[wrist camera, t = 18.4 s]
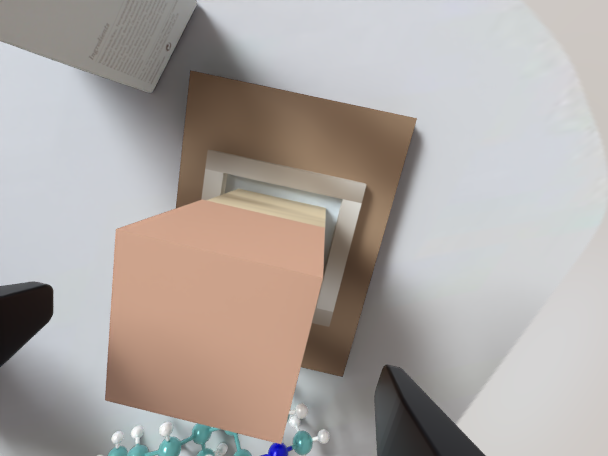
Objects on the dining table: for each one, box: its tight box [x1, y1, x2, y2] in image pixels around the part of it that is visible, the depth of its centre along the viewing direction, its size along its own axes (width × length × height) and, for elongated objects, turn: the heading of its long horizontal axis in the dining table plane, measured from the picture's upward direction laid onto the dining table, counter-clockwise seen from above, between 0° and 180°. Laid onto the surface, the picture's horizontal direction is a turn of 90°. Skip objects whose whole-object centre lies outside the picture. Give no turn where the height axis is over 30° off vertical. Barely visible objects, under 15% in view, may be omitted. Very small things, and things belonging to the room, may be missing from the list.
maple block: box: [207, 189, 326, 228], centre depth 15 cm, size 5×5×5 cm
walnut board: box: [176, 70, 417, 377], centre depth 18 cm, size 16×12×2 cm
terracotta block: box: [105, 200, 325, 444], centre depth 10 cm, size 5×5×5 cm
